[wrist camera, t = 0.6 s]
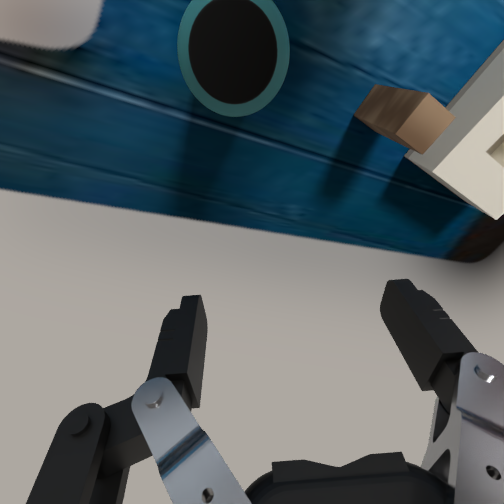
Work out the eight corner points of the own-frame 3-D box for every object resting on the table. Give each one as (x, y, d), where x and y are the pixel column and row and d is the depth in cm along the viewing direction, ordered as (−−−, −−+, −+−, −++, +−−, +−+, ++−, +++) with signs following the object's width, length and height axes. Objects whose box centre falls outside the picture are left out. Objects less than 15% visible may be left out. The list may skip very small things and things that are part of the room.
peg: (375, 84, 30) (428, 93, 22) (397, 102, 31) (455, 117, 23) (353, 115, 32) (395, 133, 24) (375, 131, 33) (422, 154, 25)
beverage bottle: (276, 77, 29) (331, 97, 13) (219, 106, 31) (204, 158, 14) (250, 1, 26) (282, -104, 9) (188, 37, 27) (119, 0, 11)
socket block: (508, 34, 28) (566, 28, 23) (566, 101, 32) (626, 108, 27) (403, 155, 35) (432, 171, 30) (462, 199, 39) (496, 220, 34)
